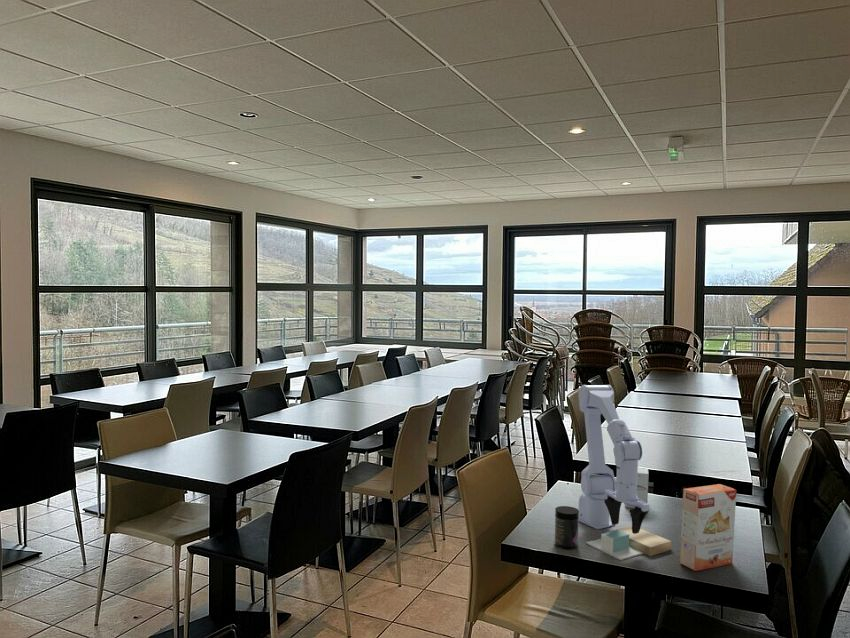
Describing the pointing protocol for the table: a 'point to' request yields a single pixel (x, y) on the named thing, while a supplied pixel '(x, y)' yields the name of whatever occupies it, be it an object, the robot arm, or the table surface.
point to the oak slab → (646, 541)
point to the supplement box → (642, 485)
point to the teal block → (614, 541)
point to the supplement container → (566, 527)
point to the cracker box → (707, 526)
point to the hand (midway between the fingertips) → (625, 528)
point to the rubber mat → (619, 554)
